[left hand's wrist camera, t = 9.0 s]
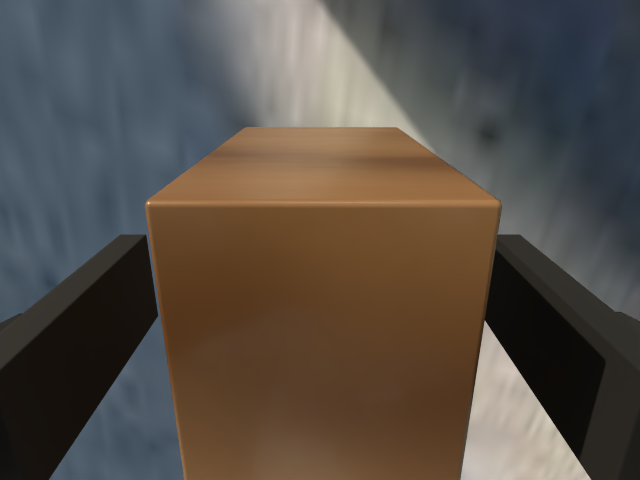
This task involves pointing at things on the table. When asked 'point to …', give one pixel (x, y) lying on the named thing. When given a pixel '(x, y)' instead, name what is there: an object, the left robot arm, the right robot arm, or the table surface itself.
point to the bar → (322, 305)
